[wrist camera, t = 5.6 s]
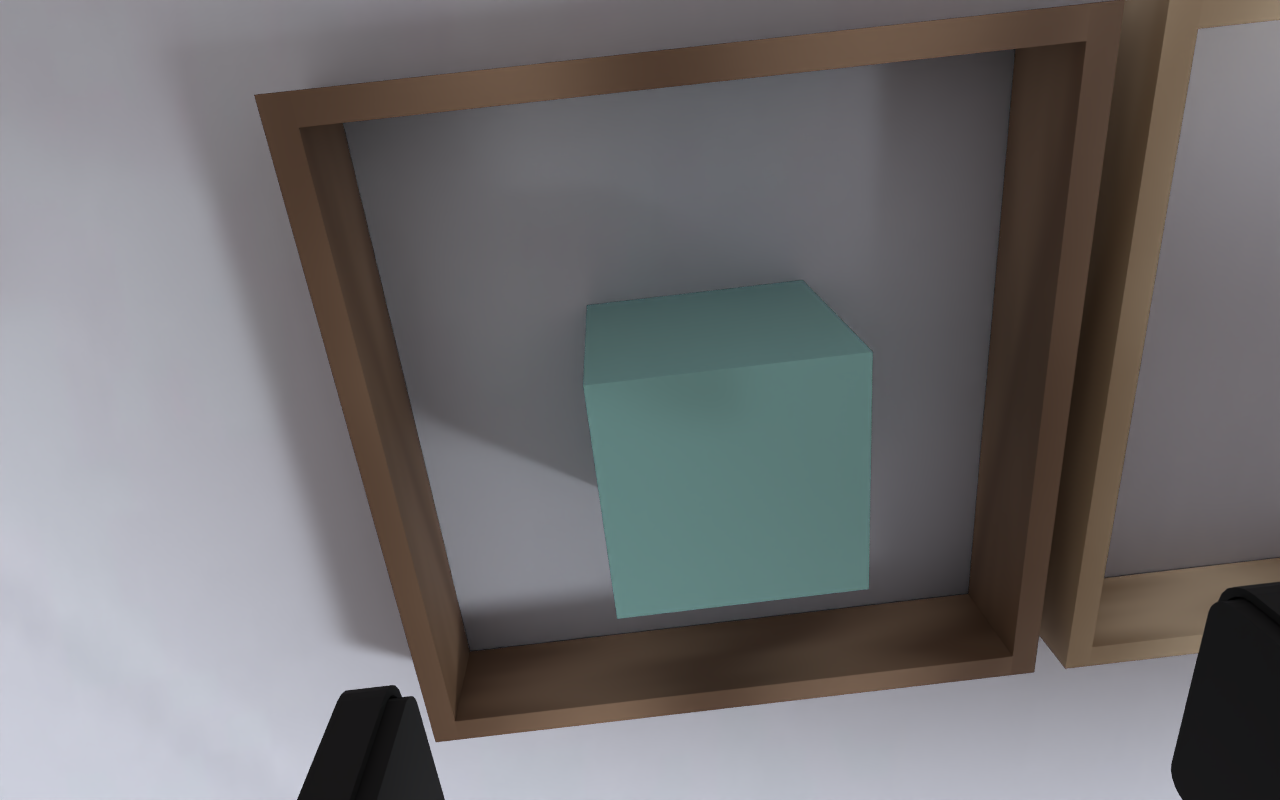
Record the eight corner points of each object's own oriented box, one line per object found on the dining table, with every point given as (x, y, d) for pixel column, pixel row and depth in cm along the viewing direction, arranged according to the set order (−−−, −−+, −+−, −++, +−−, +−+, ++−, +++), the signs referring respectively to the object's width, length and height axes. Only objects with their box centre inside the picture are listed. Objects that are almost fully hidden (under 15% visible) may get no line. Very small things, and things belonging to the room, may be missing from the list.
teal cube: (801, 279, 18) (873, 351, 13) (806, 468, 20) (868, 588, 15) (587, 304, 18) (583, 385, 13) (612, 491, 20) (617, 618, 15)
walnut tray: (1047, 9, 16) (1125, -1, 13) (987, 608, 22) (1034, 672, 19) (304, 91, 16) (253, 95, 13) (452, 670, 22) (435, 741, 19)
